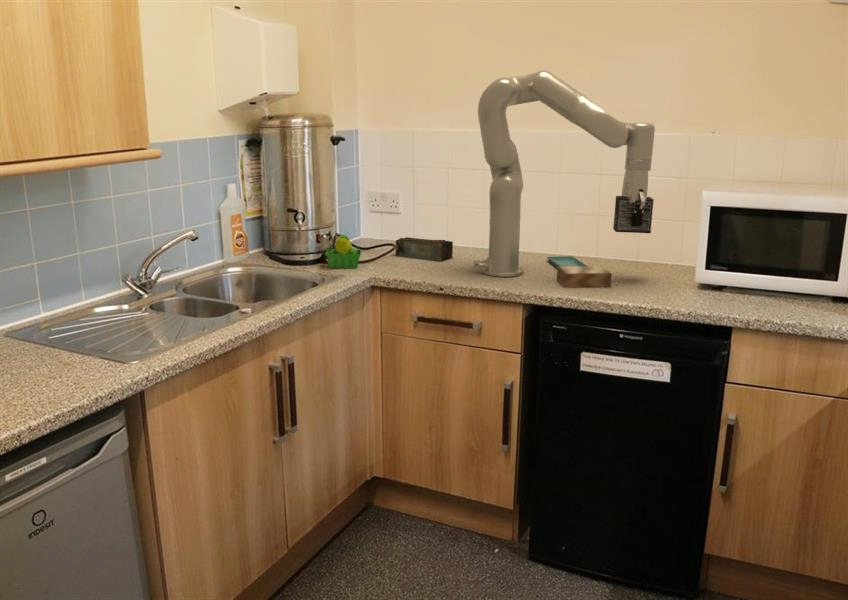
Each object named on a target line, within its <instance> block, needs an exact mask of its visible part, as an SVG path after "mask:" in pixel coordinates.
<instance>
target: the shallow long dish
mask: <svg viewBox="0 0 848 600" xmlns="http://www.w3.org/2000/svg"><path fill="white" fill-rule="evenodd" d="M546 258H547V260H548V262H549V263H550V264H551V265H553V266H554V267H555V268H556V267H559V266H588V265H587V264H586V263H584V262H583V261H581V260H580V259H578V258H576V257H575V256H573V255H571V256H570V255H568V256H566V255H565V256H564V255H562V256H547V257H546Z"/></svg>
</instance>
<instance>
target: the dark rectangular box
mask: <svg viewBox="0 0 848 600" xmlns="http://www.w3.org/2000/svg"><path fill="white" fill-rule="evenodd" d="M453 245H454V243H453V240H451V241H450V240H445V239H427V238H416V237H415V238H414V237H407V236H406V237H400V238H399V239H396V240H395V256H396V257H400V258H409V259H415V260H416V259H418V260H425V259H426V261H434V260H435V261H434V262H444V261H447V260H450V259H453V254H454V253H453V251H454V250H453V247H454V246H453Z"/></svg>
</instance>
